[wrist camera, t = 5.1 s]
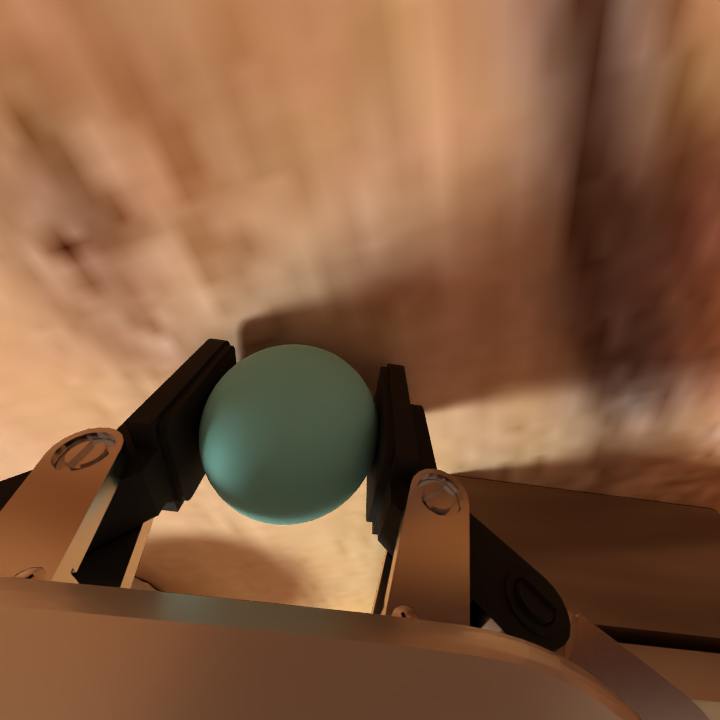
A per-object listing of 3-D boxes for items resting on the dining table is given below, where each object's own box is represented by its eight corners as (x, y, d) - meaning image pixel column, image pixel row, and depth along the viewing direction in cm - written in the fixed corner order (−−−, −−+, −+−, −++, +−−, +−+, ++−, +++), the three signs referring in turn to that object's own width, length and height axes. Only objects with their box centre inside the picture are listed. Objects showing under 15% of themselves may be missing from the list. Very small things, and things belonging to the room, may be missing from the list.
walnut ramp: (441, 466, 13) (513, 771, 6) (732, 504, 14) (1081, 819, 7) (374, 616, 23) (374, 803, 16) (548, 635, 23) (621, 823, 16)
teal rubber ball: (236, 306, 9) (124, 411, 5) (389, 328, 10) (403, 447, 5) (246, 419, 12) (177, 551, 8) (366, 435, 12) (363, 571, 8)
